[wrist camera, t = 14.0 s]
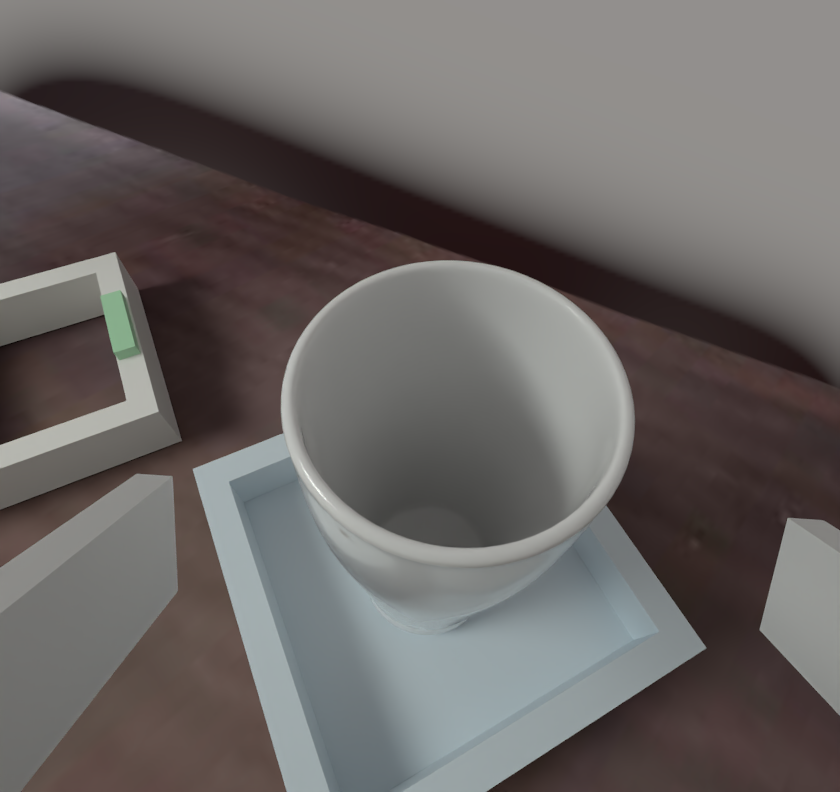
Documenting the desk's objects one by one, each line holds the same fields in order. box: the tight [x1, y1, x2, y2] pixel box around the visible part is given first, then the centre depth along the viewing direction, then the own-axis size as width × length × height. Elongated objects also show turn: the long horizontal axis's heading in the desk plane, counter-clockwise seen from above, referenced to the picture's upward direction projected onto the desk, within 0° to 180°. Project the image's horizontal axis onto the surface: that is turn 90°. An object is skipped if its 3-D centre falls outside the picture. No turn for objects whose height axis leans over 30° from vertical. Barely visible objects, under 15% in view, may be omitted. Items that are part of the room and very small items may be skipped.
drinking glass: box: [281, 260, 635, 635], centre depth 16 cm, size 7×7×15 cm
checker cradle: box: [0, 252, 182, 510], centre depth 26 cm, size 11×11×4 cm
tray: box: [193, 433, 706, 792], centre depth 22 cm, size 15×15×4 cm
